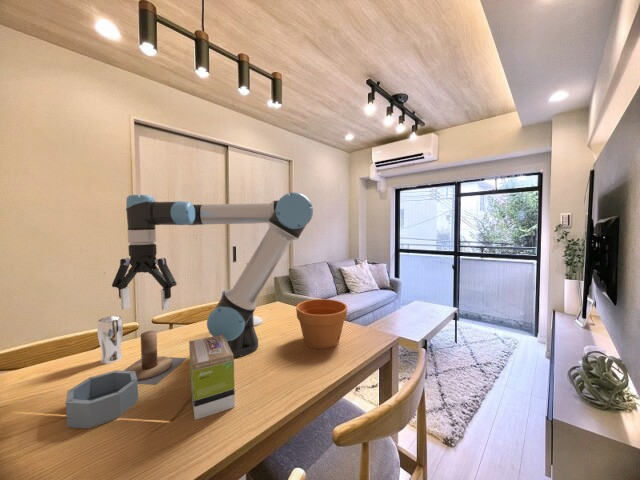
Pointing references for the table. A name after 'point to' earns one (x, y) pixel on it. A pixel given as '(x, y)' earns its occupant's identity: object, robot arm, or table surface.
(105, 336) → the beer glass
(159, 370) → the lid
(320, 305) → the flower pot
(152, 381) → the mat
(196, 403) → the tea box
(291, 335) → the table surface
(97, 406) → the bowl
